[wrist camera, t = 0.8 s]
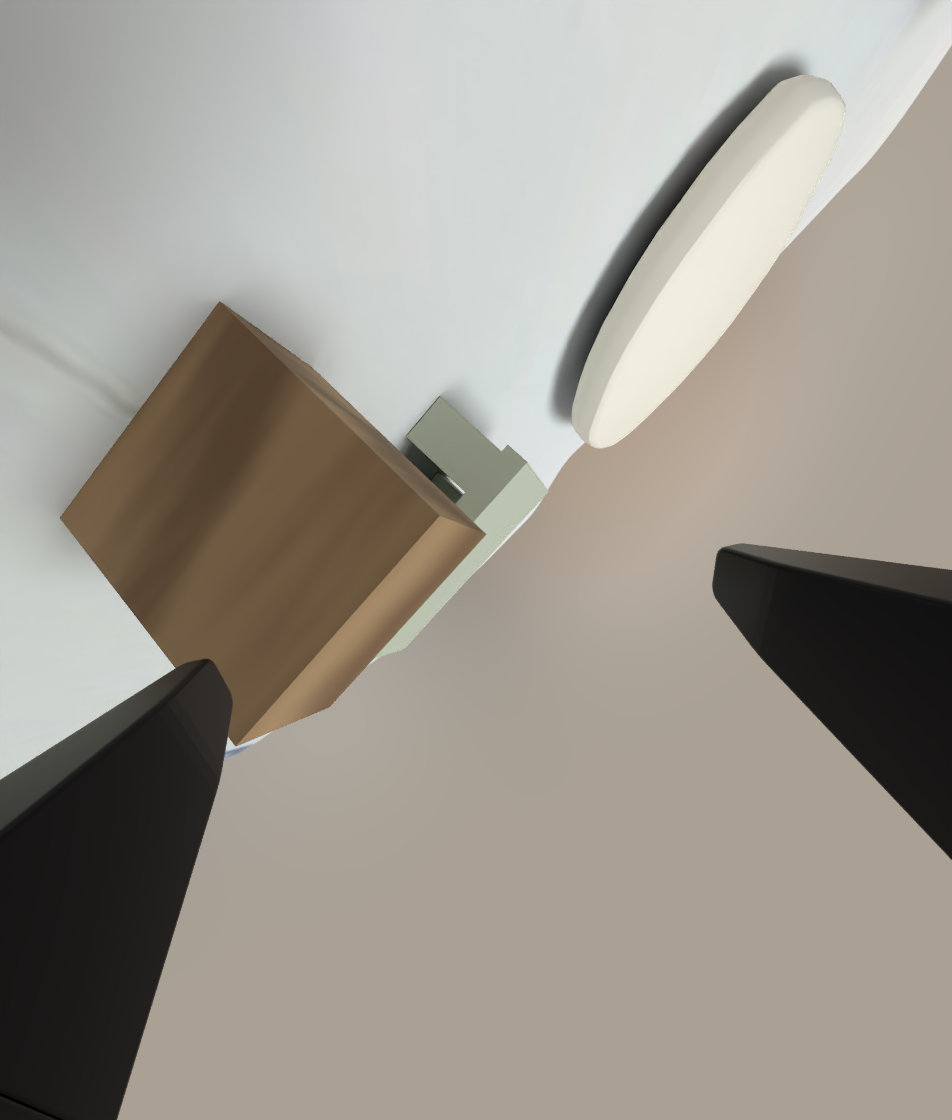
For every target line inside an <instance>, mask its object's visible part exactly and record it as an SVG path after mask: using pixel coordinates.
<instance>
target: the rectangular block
mask: <svg viewBox="0 0 952 1120" xmlns="http://www.w3.org/2000/svg"><path fill="white" fill-rule="evenodd" d="M60 519H61V520H62V521H63V522H64V524H65V525H66V526H67V528H68V529H69V530H70V532H71V533H72V534H73V535H74V537H75V538H76V539H77V541H78V542H79V543H80V545H81V546H82V547H83V548H84V550H85V551H86V552H87V554H88V555H89V556H90V558H91V559H92V560H93V561H94V563H95V564H96V565H97V567H98V568H99V569H100V571H101V572H102V573H103V574H104V576H105V577H106V578H107V580H108V581H109V582H110V584H111V585H112V586H113V587H114V589H115V590H116V591H117V593H118V594H119V595H120V597H121V598H122V599H123V600H124V602H125V603H126V604H127V606H128V607H129V608H130V610H131V611H132V612H133V613H134V615H135V616H136V617H137V619H138V620H139V621H140V623H141V624H142V625H143V626H144V628H145V629H146V630H147V632H148V633H149V634H150V636H151V637H152V638H153V639H154V641H155V642H156V643H157V645H158V646H159V647H160V649H161V650H162V651H163V652H164V654H165V655H166V656H167V658H168V659H169V660H170V662H171V663H172V664H173V666H174V667H175V668H177V667H179V666H180V665H182V664H184V663H187V662H191V661H195V660H200V659H205V658H208V659H210V660H212V661H213V662H214V663H215V665H216V666H217V668H218V670H219V672H220V674H221V675H222V677H223V679H224V681H225V682H226V684H227V686H228V688H229V690H230V692H231V695H232V699H233V710H232V715H231V721H230V727H229V733H228V737H229V738H230V740H231V741H232V742H233V744H234V745H235V746H238V745H240V744H243V743H245V742H248V741H250V740H252V739H255V738H257V737H260V736H262V735H264V734H267V733H269V732H271V731H274V730H276V729H278V728H281V727H283V726H286V725H288V724H291V723H293V722H295V721H298V720H300V719H303V718H305V717H307V716H310V715H312V714H314V713H317V712H319V711H321V710H324V709H326V708H328V707H330V706H331V705H332V704H333V703H334V701H336V699H337V698H338V697H339V696H340V695H341V694H342V693H343V692H344V691H345V690H346V688H347V687H348V686H349V685H350V684H351V683H352V682H353V681H354V680H355V679H356V677H357V676H358V675H359V674H360V673H361V672H362V671H363V670H364V669H365V668H366V666H367V665H368V664H369V663H370V662H371V661H372V660H373V659H374V658H375V657H376V655H377V654H378V653H379V652H380V651H381V650H382V649H383V648H384V647H385V646H386V644H387V643H388V642H389V641H390V640H391V639H392V638H393V637H394V636H395V635H396V633H397V632H398V631H399V630H400V629H401V628H402V627H403V626H404V625H405V624H406V622H407V621H408V620H409V619H410V618H411V617H412V616H413V615H414V614H415V613H416V611H417V610H418V609H419V608H420V607H421V606H422V605H423V604H424V603H425V602H426V600H427V599H428V598H429V597H430V596H431V595H432V594H433V593H434V592H435V591H436V589H437V588H438V587H439V586H440V585H441V584H442V583H443V582H444V581H445V580H446V578H447V577H448V576H449V575H450V574H451V573H452V572H453V571H454V570H455V569H456V567H457V566H458V565H459V564H460V563H461V562H462V561H463V560H464V559H465V558H466V556H467V555H468V554H469V553H470V552H471V551H472V550H473V549H474V548H475V547H476V545H477V544H478V543H479V542H480V541H481V540H482V539H483V538H484V537H485V536H486V533H485V532H483V531H482V530H481V529H480V528H479V527H478V526H477V525H476V524H475V523H474V522H473V521H472V520H471V519H470V518H469V517H468V516H467V515H466V514H465V513H464V512H463V511H462V510H460V509H459V508H458V507H457V506H456V505H455V504H454V503H453V502H452V501H451V500H450V499H449V498H448V497H447V496H446V495H445V494H444V493H443V492H442V491H441V490H440V489H439V488H437V487H436V486H435V485H434V484H433V483H432V482H431V481H430V480H429V479H428V478H427V477H426V476H425V475H424V474H423V473H422V472H421V471H420V470H419V469H418V468H417V467H416V466H414V465H413V464H412V463H411V462H410V461H409V460H408V459H407V458H406V457H405V456H404V455H403V454H402V453H401V452H400V451H399V450H398V449H397V448H396V447H395V446H394V445H393V444H392V443H390V442H389V441H388V440H387V439H386V438H385V437H384V436H383V435H382V434H381V433H380V432H379V431H378V430H377V429H376V428H375V427H374V426H373V425H372V424H371V423H370V422H369V421H367V420H366V419H365V418H364V417H363V416H362V415H361V414H360V413H359V412H358V411H357V410H356V409H355V408H354V407H353V406H352V405H351V404H350V403H349V402H348V401H347V400H346V399H344V398H343V397H342V396H341V395H340V394H339V393H338V392H337V391H336V390H335V389H334V388H333V387H332V386H331V385H330V384H329V383H328V382H327V381H326V380H325V379H324V378H323V377H321V376H320V375H319V374H318V373H317V372H316V371H315V370H314V369H313V368H312V367H310V366H309V365H308V364H306V363H305V362H304V361H302V360H301V359H299V358H298V357H297V356H295V355H294V354H292V353H291V352H290V351H288V350H287V349H285V348H284V347H283V346H281V345H280V344H278V343H277V342H276V341H274V340H273V339H271V338H270V337H269V336H267V335H266V334H265V333H263V332H262V331H260V330H259V329H258V328H256V327H255V326H253V325H252V324H251V323H249V322H248V321H246V320H245V319H244V318H242V317H241V316H239V315H238V314H237V313H235V312H234V311H233V310H231V309H230V308H228V307H227V306H226V305H224V304H223V303H221V302H219V303H218V304H217V306H216V307H215V308H214V310H213V311H212V313H211V314H210V315H209V317H208V318H207V319H206V321H205V322H204V323H203V325H202V326H201V327H200V329H199V330H198V331H197V333H196V334H195V336H194V337H193V338H192V340H191V341H190V342H189V344H188V345H187V346H186V348H185V349H184V350H183V352H182V353H181V355H180V356H179V357H178V359H177V360H176V361H175V363H174V364H173V365H172V367H171V368H170V369H169V371H168V372H167V373H166V375H165V376H164V378H163V379H162V380H161V382H160V383H159V384H158V386H157V387H156V388H155V390H154V391H153V392H152V394H151V395H150V396H149V398H148V399H147V401H146V402H145V403H144V405H143V406H142V407H141V409H140V410H139V411H138V413H137V414H136V415H135V417H134V418H133V420H132V421H131V422H130V424H129V425H128V426H127V428H126V429H125V430H124V432H123V433H122V434H121V436H120V437H119V438H118V440H117V441H116V443H115V444H114V445H113V447H112V448H111V449H110V451H109V452H108V453H107V455H106V456H105V457H104V459H103V460H102V462H101V463H100V464H99V466H98V467H97V468H96V470H95V471H94V472H93V474H92V475H91V476H90V478H89V479H88V480H87V482H86V483H85V485H84V486H83V487H82V489H81V490H80V491H79V493H78V494H77V495H76V497H75V498H74V499H73V501H72V502H71V504H70V505H69V506H68V508H67V509H66V510H65V512H64V513H63V514H62V516H61V517H60Z"/></svg>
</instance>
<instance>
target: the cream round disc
mask: <svg viewBox="0 0 952 1120" xmlns="http://www.w3.org/2000/svg"><path fill="white" fill-rule="evenodd" d="M844 115H845V103H844V101H843V99H842V97H841V95H840V94H839V93H838V91H837V90H836V89H835V87H834V86H833V84H832V83H831V82H829V81H827V80H826V79H823V78H819V77H814V76H809V75H800V76H796V77H793V78H790V79H786V80H783V81H781V82H780V83H778V84H777V85H776V86H775V87H774V88H773V89H772V90H771V91H770V92H769V93H768V94H767V95H766V96H765V98H764V99H763V100H762V101H761V102H760V103H759V104H758V105H757V106H756V107H755V108H754V109H753V111H752V112H751V113H750V114H749V115H748V116H747V117H746V118H745V119H744V120H743V121H742V122H741V124H740V125H739V126H738V127H737V128H736V129H735V131H734V132H733V133H732V134H731V135H730V137H729V138H728V139H727V140H726V142H725V143H724V144H723V145H722V146H721V148H720V149H719V150H718V151H717V153H716V154H715V155H714V156H713V157H712V159H711V160H710V161H709V162H708V164H707V165H706V166H705V167H704V169H703V170H702V172H701V173H700V174H699V176H698V177H697V178H696V180H695V181H694V183H693V184H692V185H691V187H690V188H689V190H688V191H687V192H686V194H685V195H684V196H683V198H682V199H681V201H680V202H679V203H678V205H677V206H676V207H675V209H674V210H673V212H672V213H671V214H670V216H669V217H668V218H667V220H666V221H665V223H664V224H663V225H662V227H661V228H660V229H659V231H658V232H657V234H656V235H655V237H654V238H653V240H652V242H651V243H650V245H649V246H648V248H647V249H646V251H645V253H644V254H643V256H642V257H641V259H640V260H639V262H638V263H637V265H636V267H635V268H634V270H633V271H632V273H631V275H630V277H629V278H628V280H627V282H626V284H625V285H624V287H623V289H622V291H621V293H620V294H619V296H618V298H617V300H616V302H615V303H614V305H613V307H612V309H611V310H610V312H609V314H608V316H607V318H606V319H605V321H604V323H603V325H602V327H601V329H600V331H599V334H598V336H597V338H596V340H595V342H594V344H593V347H592V349H591V351H590V353H589V355H588V358H587V360H586V363H585V366H584V369H583V372H582V375H581V378H580V381H579V384H578V388H577V391H576V395H575V399H574V402H573V407H572V426H573V428H574V429H575V431H576V433H577V434H578V435H579V436H580V438H581V439H582V440H583V441H584V442H585V443H587V444H589V445H590V446H592V447H595V448H605V447H608V446H612V445H614V444H615V443H617V442H618V441H620V440H621V439H623V438H624V437H625V436H627V435H628V434H629V433H630V432H631V431H632V430H633V429H635V428H636V427H637V426H638V425H639V424H640V423H641V422H642V421H643V420H644V419H646V418H647V417H648V416H649V415H650V414H651V413H652V412H653V411H654V410H655V408H657V407H658V406H659V405H660V404H661V402H663V401H664V400H665V398H667V397H668V395H670V394H671V393H672V392H673V391H674V390H675V389H676V388H677V387H678V386H679V385H680V384H681V383H682V381H683V380H684V379H685V378H686V377H687V376H688V374H689V373H690V372H691V371H692V370H693V369H694V368H695V367H696V365H697V364H698V363H699V362H700V361H701V360H702V359H703V357H704V356H705V355H706V354H707V353H708V351H709V350H710V349H711V348H712V347H713V346H714V345H715V344H716V342H717V341H718V340H719V338H720V337H721V335H722V334H723V333H724V332H725V331H726V329H727V328H728V327H729V326H730V324H731V323H732V322H733V321H734V319H735V318H736V316H737V315H738V314H739V312H740V311H741V309H742V308H743V307H744V305H745V304H746V302H747V301H748V300H749V298H750V296H751V295H752V294H753V292H754V291H755V290H756V288H757V287H758V285H759V284H760V283H761V281H762V280H763V278H764V277H765V275H766V274H767V273H768V271H769V270H770V268H771V267H772V265H773V264H774V262H775V261H776V259H777V258H778V256H779V254H780V253H781V251H782V249H783V248H784V246H785V244H786V243H787V241H788V239H789V238H790V236H791V235H792V233H793V231H794V230H795V228H796V226H797V224H798V222H799V221H800V219H801V217H802V215H803V213H804V211H805V209H806V207H807V205H808V203H809V201H810V199H811V197H812V195H813V193H814V191H815V190H816V188H817V186H818V184H819V182H820V180H821V178H822V176H823V174H824V172H825V170H826V168H827V166H828V164H829V162H830V160H831V158H832V156H833V153H834V150H835V148H836V145H837V142H838V140H839V137H840V134H841V131H842V127H843V122H844Z"/></svg>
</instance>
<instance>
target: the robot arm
mask: <svg viewBox="0 0 952 1120" xmlns="http://www.w3.org/2000/svg"><path fill="white" fill-rule="evenodd" d="M712 587H713V592H714V596H715V598H716V600H717V601H718V602H719V604H720V605H721V607H722V608H723V609H724V610H725V612H726V613H727V615H728V616H729V617H730V619H731V620H732V621H733V623H734V624H735V625H736V626H737V628H738V629H739V630H740V632H741V633H742V634H743V636H744V637H745V638H746V640H747V641H748V642H749V644H750V645H751V646H752V648H753V649H754V650H755V651H756V652H757V654H758V655H759V656H760V657H761V658H762V660H763V661H764V662H765V663H766V664H767V665H768V666H769V667H770V668H771V669H772V670H773V671H774V673H776V675H777V676H778V677H779V678H780V679H781V680H782V681H783V682H784V683H785V684H786V685H787V686H788V687H789V688H790V689H791V691H792V692H793V693H795V695H797V697H798V698H799V699H800V700H801V701H802V702H803V703H804V704H805V705H806V706H807V707H808V708H809V709H810V711H811V712H812V713H813V714H814V715H815V716H816V717H817V718H818V719H819V720H820V721H821V722H822V723H823V724H824V725H825V726H826V728H827V729H828V730H829V731H830V732H831V733H832V734H833V735H834V736H835V737H836V738H837V739H838V740H839V741H840V742H841V743H842V744H843V746H844V747H845V748H846V749H847V750H848V751H849V752H850V753H851V754H852V755H853V756H854V757H855V758H856V759H857V760H858V761H859V762H860V763H861V764H862V765H863V767H864V768H865V769H866V770H867V771H868V772H869V773H870V774H871V775H872V776H873V777H874V778H875V779H876V780H877V781H878V782H879V784H880V785H881V786H882V787H883V788H884V789H885V790H886V791H887V792H888V793H889V794H890V795H891V796H892V797H893V798H894V799H895V800H896V802H897V803H898V804H899V805H900V806H901V807H902V808H903V809H904V810H905V811H906V812H907V813H908V814H909V815H910V816H911V817H912V818H913V820H914V821H916V823H917V824H918V825H919V826H920V827H921V828H922V829H923V830H924V831H925V832H926V833H927V834H928V835H929V836H930V837H931V839H932V840H933V841H934V842H935V843H936V844H937V845H938V846H939V847H940V848H941V849H942V850H943V851H944V852H945V853H946V855H948V856H949V858H950V859H951V860H952V570H947V569H940V568H939V569H938V568H932V567H923V566H915V565H908V564H900V563H893V562H885V561H877V560H868V559H860V558H853V557H845V556H838V555H830V554H821V553H814V552H806V551H798V550H791V549H783V548H775V547H767V546H759V545H751V544H735V545H730V546H726V547H722V548H721V549H720V550H719V551H718V553H717V556H716V563H715V570H714V576H713V583H712ZM232 710H233V699H232V695H231V692H230V690H229V688H228V686H227V684H226V682H225V681H224V679H223V677H222V675H221V674H220V672H219V670H218V668H217V666H216V665H215V663H214V662H213V661H212V660H210V659H208V658H205V659H200V660H195V661H191V662H187V663H184V664H182V665H180V666H179V667H177V668H176V669H174V670H172V671H171V672H169V673H168V674H166V675H165V676H163V677H161V678H160V679H158V680H157V681H155V682H153V683H152V684H150V685H149V686H147V687H146V688H144V689H142V690H141V691H139V692H138V693H136V694H135V695H133V696H131V697H130V698H128V699H127V700H125V701H124V702H122V703H120V704H119V705H117V706H116V707H114V708H113V709H111V710H109V711H108V712H106V713H105V714H103V715H102V716H100V717H98V718H97V719H95V720H94V721H92V722H91V723H89V724H87V725H86V726H84V727H83V728H81V729H80V730H78V731H76V732H75V733H73V734H72V735H70V736H69V737H67V738H65V739H64V740H62V741H61V742H59V743H58V744H56V745H54V746H53V747H51V748H50V749H48V750H46V751H45V752H43V753H42V754H40V755H39V756H37V757H35V758H34V759H32V760H31V761H29V762H28V763H26V764H24V765H23V766H21V767H20V768H18V769H17V770H15V771H13V772H12V773H10V774H9V775H7V776H6V777H4V778H2V779H1V780H0V1120H117V1118H118V1115H119V1111H120V1108H121V1105H122V1102H123V1098H124V1095H125V1092H126V1088H127V1085H128V1082H129V1078H130V1075H131V1072H132V1068H133V1065H134V1062H135V1059H136V1056H137V1052H138V1049H139V1046H140V1042H141V1039H142V1036H143V1032H144V1029H145V1026H146V1023H147V1019H148V1016H149V1013H150V1009H151V1006H152V1003H153V1000H154V996H155V993H156V990H157V986H158V983H159V980H160V977H161V973H162V970H163V967H164V963H165V960H166V957H167V954H168V950H169V947H170V944H171V940H172V937H173V934H174V930H175V927H176V924H177V921H178V917H179V914H180V911H181V908H182V904H183V901H184V898H185V894H186V891H187V888H188V885H189V881H190V878H191V874H192V871H193V868H194V865H195V861H196V858H197V855H198V852H199V848H200V845H201V842H202V838H203V835H204V832H205V829H206V825H207V822H208V819H209V815H210V812H211V809H212V805H213V802H214V799H215V796H216V792H217V789H218V785H219V781H220V777H221V772H222V767H223V761H224V756H225V750H226V744H227V738H228V733H229V727H230V721H231V715H232Z"/></svg>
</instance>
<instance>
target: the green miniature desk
mask: <svg viewBox="0 0 952 1120" xmlns="http://www.w3.org/2000/svg"><path fill="white" fill-rule="evenodd" d="M406 437H407V438H408V439H409V440H410V441H412V442H413V443H414V444H415V445H416V446H417V447H418V448H419V449H420V450H421V451H422V452H423V453H424V454H425V455H426V456H427V457H429V458H430V459H431V460H432V461H433V462H434V463H435V464H436V465H437V466H438V467H439V468H440V469H441V470H442V471H443V472H444V473H445V474H447V475H448V476H449V477H450V478H451V479H452V480H453V481H454V482H455V483H456V484H457V485H458V486H459V487H460V488H461V489H462V490H464V491H465V494H463V493H462V492H461V491H460V490H459V489H457V488H456V487H455V486H454V485H453V484H452V483H451V482H450V481H449V480H448V479H447V478H445V477H444V476H442V475H441V474H439V473H437V474H436V475H435V476H434V477H433V479H432V480H431V482H432V483H433V484H434V485H435V486H436V487H437V488H439V489H440V490H441V491H442V492H443V493H444V494H445V495H446V496H447V497H448V498H449V499H450V500H451V501H452V502H453V503H454V504H455V505H456V506H457V507H458V508H459V509H460V510H462V511H463V512H464V513H465V514H466V515H467V516H468V517H469V518H470V519H471V520H472V521H473V522H474V523H475V524H476V525H477V526H478V527H479V528H480V529H481V530H482V531H483V532H485V533H486V536H485V537H484V538H483V539H482V540H481V541H480V542H479V543H478V544H477V545H476V547H475V548H474V549H473V550H472V551H471V552H470V553H469V554H468V555H467V556H466V558H465V559H464V560H463V561H462V562H461V563H460V564H459V565H458V566H457V567H456V569H455V570H454V571H453V572H452V573H451V574H450V575H449V576H448V577H447V578H446V580H445V581H444V582H443V583H442V584H441V585H440V586H439V587H438V588H437V589H436V591H435V592H434V593H433V594H432V595H431V596H430V597H429V598H428V599H427V600H426V602H425V603H424V604H423V605H422V606H421V607H420V608H419V609H418V610H417V611H416V613H415V614H414V615H413V616H412V617H411V618H410V619H409V620H408V621H407V622H406V624H405V625H404V626H403V627H402V628H401V629H400V630H399V631H398V632H397V633H396V635H395V636H394V637H393V638H392V639H391V640H390V641H389V642H388V643H387V644H386V646H385V647H384V648H383V649H382V650H381V651H380V652H379V653H378V654H377V655H376V657H375V658H377V657H380V656H384V655H387V654H390V653H394V652H397V651H400V650H403V649H404V648H405V647H406V646H407V645H408V644H409V643H410V642H411V641H412V639H414V637H415V636H416V635H417V634H418V633H419V632H420V631H421V630H422V629H423V628H424V627H425V626H426V625H427V623H428V622H429V621H430V620H431V619H432V618H433V617H434V616H435V615H436V614H437V612H438V611H439V610H440V609H441V608H442V607H443V606H444V605H445V604H446V603H447V602H448V601H449V599H450V598H451V597H452V596H453V595H454V594H455V593H456V592H457V591H458V590H459V589H460V587H461V586H462V585H463V584H464V583H465V582H466V581H467V580H468V579H469V578H470V577H471V576H472V574H473V573H474V572H475V571H476V570H477V569H478V568H479V567H480V566H481V565H482V564H483V562H484V561H485V560H486V559H487V558H488V557H489V556H490V555H491V554H492V553H493V552H494V550H495V549H496V548H497V547H498V546H499V545H500V544H501V543H502V542H503V541H504V540H505V538H506V537H507V536H508V535H509V534H510V533H511V532H512V531H513V530H514V529H515V528H516V526H517V525H518V524H519V523H520V522H521V521H522V520H523V519H524V518H525V517H526V516H527V514H528V513H529V512H530V511H531V510H532V509H533V508H534V507H535V506H536V505H537V504H538V502H539V501H540V500H541V499H542V498H543V497H544V496H545V495H546V494H547V493H548V490H547V489H546V487H545V486H544V485H543V483H542V482H541V480H540V479H539V478H538V476H537V475H536V473H535V472H534V471H533V469H532V468H531V466H530V465H529V464H528V462H527V461H526V460H524V459H523V458H522V457H521V456H520V455H519V454H518V453H517V452H515V451H514V450H513V449H512V448H511V447H510V446H509V445H507V446H506V447H505V448H504V450H503V451H502V452H501V451H500V450H499V449H498V448H497V447H496V446H495V445H494V444H493V443H491V442H490V441H489V440H488V439H487V438H486V437H485V436H484V435H483V434H481V433H480V432H479V431H478V430H477V429H476V428H475V427H474V426H472V425H471V424H470V423H469V422H468V421H467V420H466V419H465V418H464V417H462V416H461V415H460V414H459V413H458V412H457V411H456V410H455V409H453V408H452V407H451V406H450V405H449V404H448V403H447V402H446V401H445V400H443V399H442V398H441V397H439V398H438V399H437V401H436V402H435V403H434V404H433V405H432V407H431V408H430V409H429V410H428V411H427V412H426V414H425V415H424V416H423V417H422V418H421V420H420V421H419V422H418V423H417V424H416V425H415V427H414V428H413V429H412V430H411V431H410V433H409V434H408V435H407V436H406Z"/></svg>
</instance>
